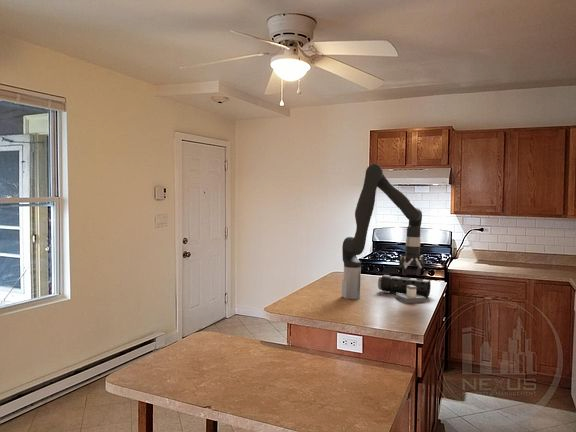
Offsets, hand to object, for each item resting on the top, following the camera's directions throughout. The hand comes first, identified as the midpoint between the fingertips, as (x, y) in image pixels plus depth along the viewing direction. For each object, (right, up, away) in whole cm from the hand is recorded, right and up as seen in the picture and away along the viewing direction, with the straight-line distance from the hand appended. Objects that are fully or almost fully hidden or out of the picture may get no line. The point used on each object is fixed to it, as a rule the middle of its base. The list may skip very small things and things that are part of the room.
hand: (411, 275), depth 233 cm
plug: (0, -14, +1) cm, 14 cm away
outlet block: (0, -14, +1) cm, 14 cm away
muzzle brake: (0, -14, +15) cm, 20 cm away
